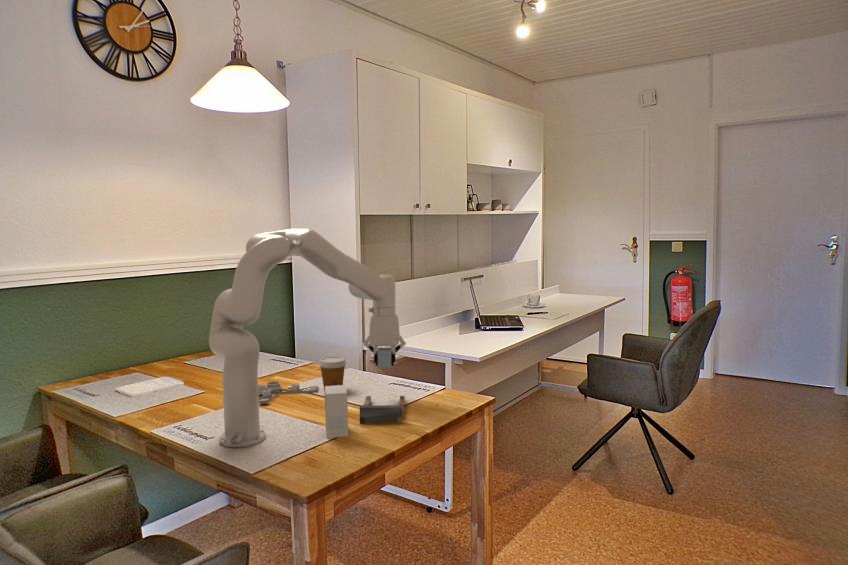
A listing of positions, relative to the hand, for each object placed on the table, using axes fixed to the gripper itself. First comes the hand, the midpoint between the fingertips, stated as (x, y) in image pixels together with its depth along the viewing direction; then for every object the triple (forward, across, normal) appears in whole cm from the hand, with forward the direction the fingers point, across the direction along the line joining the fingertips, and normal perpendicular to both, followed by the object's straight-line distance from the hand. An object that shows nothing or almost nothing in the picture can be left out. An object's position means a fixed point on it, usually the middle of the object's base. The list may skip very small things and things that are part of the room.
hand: (384, 364), depth 198 cm
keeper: (+1, 0, 0) cm, 1 cm away
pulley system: (+14, -38, +9) cm, 41 cm away
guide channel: (+13, 0, -11) cm, 17 cm away
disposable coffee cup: (+13, -19, +11) cm, 26 cm away
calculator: (+14, -88, +19) cm, 91 cm away
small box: (+13, -13, -28) cm, 34 cm away
